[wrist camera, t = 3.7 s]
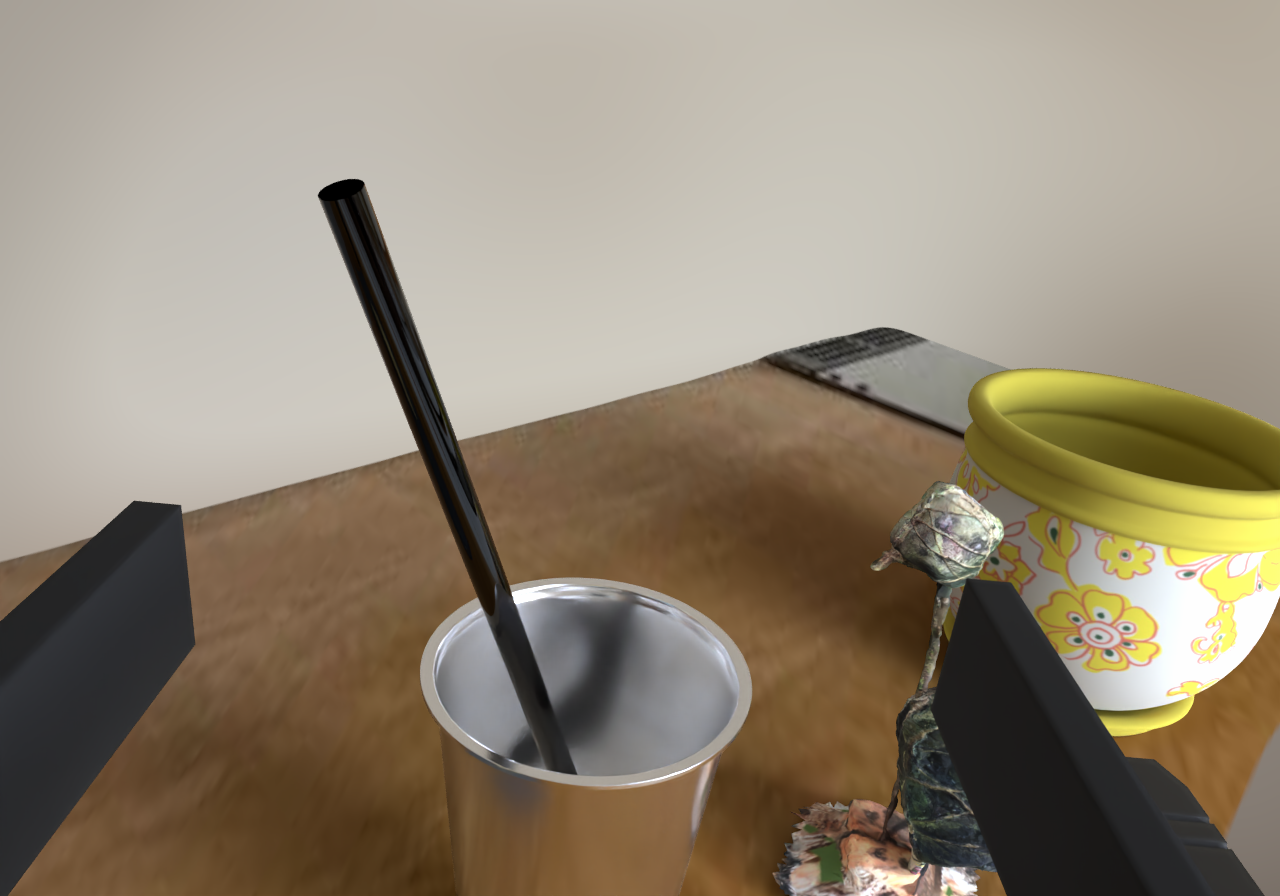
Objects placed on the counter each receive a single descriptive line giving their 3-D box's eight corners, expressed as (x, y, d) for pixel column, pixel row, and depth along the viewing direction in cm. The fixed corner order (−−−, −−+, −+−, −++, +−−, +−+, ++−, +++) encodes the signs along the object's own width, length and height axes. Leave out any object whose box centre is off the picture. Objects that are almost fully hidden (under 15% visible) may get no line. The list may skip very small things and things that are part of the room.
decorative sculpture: (1011, 1043, 36) (1190, 589, 28) (745, 885, 41) (831, 466, 33) (1057, 901, 42) (1214, 498, 34) (821, 781, 48) (909, 408, 39)
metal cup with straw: (345, 1173, 30) (310, 181, 18) (430, 877, 40) (445, 125, 28) (693, 1206, 30) (895, 245, 18) (688, 902, 40) (813, 165, 28)
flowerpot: (920, 734, 52) (998, 458, 45) (898, 569, 68) (953, 349, 61) (1275, 805, 49) (1410, 526, 43) (1164, 617, 66) (1250, 394, 59)
